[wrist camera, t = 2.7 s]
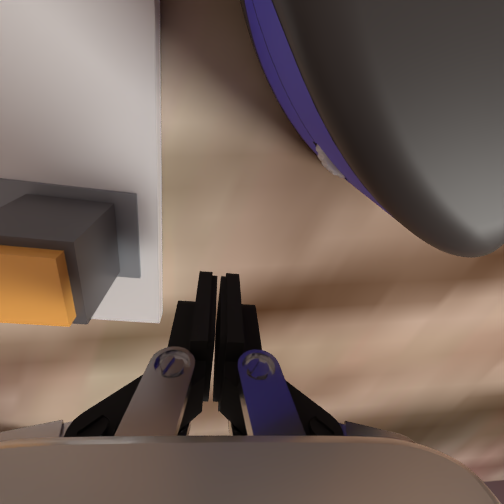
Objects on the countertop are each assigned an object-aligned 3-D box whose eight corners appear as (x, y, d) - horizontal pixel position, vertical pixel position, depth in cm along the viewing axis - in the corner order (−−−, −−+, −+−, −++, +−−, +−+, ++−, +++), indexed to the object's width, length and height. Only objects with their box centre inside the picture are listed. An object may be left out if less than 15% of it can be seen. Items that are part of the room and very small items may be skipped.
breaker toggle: (114, 203, 14) (65, 249, 10) (119, 271, 16) (81, 334, 12) (26, 194, 14) (-62, 238, 10) (43, 265, 16) (-25, 328, 12)
